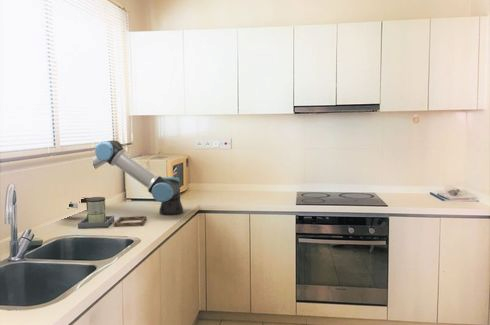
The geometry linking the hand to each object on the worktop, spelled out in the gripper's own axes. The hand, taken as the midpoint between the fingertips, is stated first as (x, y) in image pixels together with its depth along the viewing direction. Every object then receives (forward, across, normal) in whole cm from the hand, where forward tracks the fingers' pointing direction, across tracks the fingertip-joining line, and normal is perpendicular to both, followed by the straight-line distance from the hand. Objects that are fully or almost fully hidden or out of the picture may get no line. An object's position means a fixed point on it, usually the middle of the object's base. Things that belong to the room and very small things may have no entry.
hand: (87, 203), depth 238 cm
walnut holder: (+21, -13, -11) cm, 28 cm away
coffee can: (+7, 0, -10) cm, 13 cm away
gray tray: (+8, 0, -11) cm, 14 cm away
